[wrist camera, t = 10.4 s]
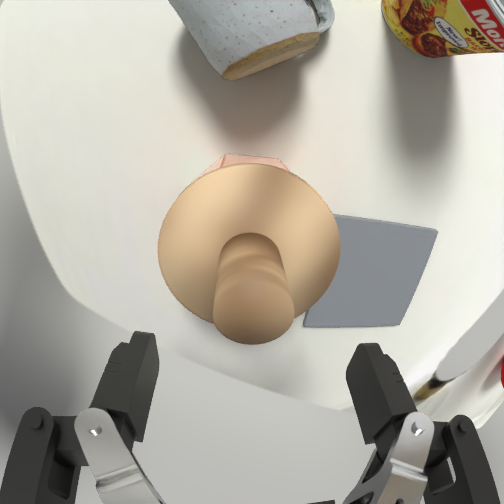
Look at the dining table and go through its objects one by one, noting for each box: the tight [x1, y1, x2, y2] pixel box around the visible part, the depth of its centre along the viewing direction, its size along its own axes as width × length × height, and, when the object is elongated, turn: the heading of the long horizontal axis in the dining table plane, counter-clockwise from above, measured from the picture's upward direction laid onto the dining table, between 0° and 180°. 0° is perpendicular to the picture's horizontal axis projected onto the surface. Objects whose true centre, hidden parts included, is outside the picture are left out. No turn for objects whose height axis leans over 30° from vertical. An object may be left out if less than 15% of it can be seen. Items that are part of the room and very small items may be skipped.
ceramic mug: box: [168, 0, 334, 80], centre depth 12 cm, size 11×8×8 cm
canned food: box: [381, 0, 504, 58], centre depth 9 cm, size 8×8×12 cm
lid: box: [158, 163, 341, 345], centre depth 15 cm, size 11×11×6 cm
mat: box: [303, 214, 438, 327], centre depth 26 cm, size 12×12×1 cm
